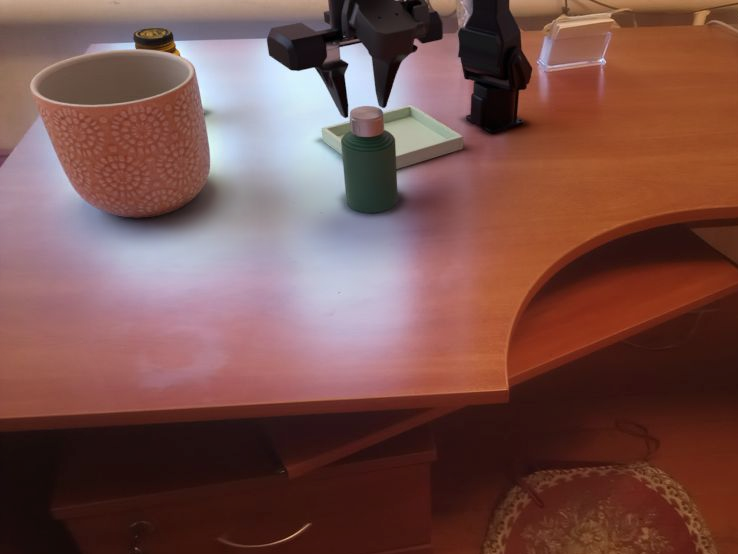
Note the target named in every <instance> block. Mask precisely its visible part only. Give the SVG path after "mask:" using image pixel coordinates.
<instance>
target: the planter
mask: <svg viewBox="0 0 738 554" xmlns="http://www.w3.org/2000/svg"><path fill="white" fill-rule="evenodd" d="M199 85H200V84H199V79H198V76H197V72H196V68H195V66H194V64H193V63H192V62H191V61H189V60H188V59H187V58H185V57H183V56H182V55H180V56H178V55H175V54H172V53H168V52H163V51H156V50H143V49H136V48H133V49H132V48H131V49H128V48H127V49H113V50H104V51H103V50H102V51H97V52H90V53H86V54H82V55H77V56H73V57H70V58H67V59H63V60H61V61H58V62H55V63H54V64H51V65H50V66H47V67H45V68H43V69H42V70H40V71H39V72H38V73H37V74H36V75H35V76H34V77H33V78H32V80H31V81H30V88H29V89H30V92H31V94H32V95H31V96H32V98H33V100H34V103H35V106H36V108H37V111H38V113H39V116H40V118H41V120H42V123H43V125H44V128H45V131H46V133H47V135H48V137H49V140H50V143H51V145H52V147H53V150H54V152H55V154H56V157H57V159H58V162H59V163H60V166H61V168H62V171H63V173H64V174H65V176H66V178H67V180H68V182H69V183H70V184H71V186H72V188H73V190H74V191H75V192H76V193H77V194H78V195H79V197H80V198H81V199H82V200H84V201H85V202H86V203H88V204H89V205H90V206H92V207H94V208H96V209H99V210H100V211H102V212H105V213H107V214H111V215H114V216H119V217H122V218H123V217H124V218H133V219H136V218H137V219H141V218H149V217H150V218H152V217H157V216H161V215H165V214H169V213H171V212H173V211H176V210H178V209H181V208H182V207H183V206H186V205H187V204H189V202H190V201H192V200H193V199H194V198H195V197H196V196H197V195H198V194H199V193H200V192H201V191H202V189H203V188H204V187H205V185H206V183H207V180H208V178H209V175H210V170H211V151H210V143H209V135H208V130H207V124H206V117H205V113H204V112H203V111H204V108H203V102H202V95H201V91H200V86H199Z"/></svg>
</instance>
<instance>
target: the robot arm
mask: <svg viewBox="0 0 738 554" xmlns="http://www.w3.org/2000/svg"><path fill="white" fill-rule="evenodd" d="M471 2H472V10H471V11H472V12H471V14H470V15H469V18H468V19H467V21H466V23H465V25H464V26H463V27H460V28H459V29H458V32H457V37H458V52H457V53H458V54H457V58H459V59H460V63H461V68H462V74H463V78H464V80H467V81H473V89H472V93H471V95H470V113H469V114H467V115H465V119H466V121H469V122H470V123H472V124H473V125H475V126H477V127H479V128H480V129H482V130H484V131H485V132H487V133H489V134H495V133H498V132H501V131H506V130H509V129H511V128H515V127H518V126H523V125H524V122H525V120H524V119H523V118H520V117H518V111H519V109H518V108H519V96H520V91H525V90H526V89H527V86H528V85H529V84H530V83H531V78H532V73H533V66H532V65H531V63H530V62H529V60H528V58H527V57H526V54H525V53H524V51H523V48H522V34H521V33H522V32H521V29H520V27H519V25H518V23H517V21H516V19H515V17H514V16H513V13H512V10H511V8H510V0H471ZM327 3H328V10H327V11H323V19H324V23H326V24H328V25H329V26H330V28H327V29H323V30H314V29H313V28H311V27H309V26H308V25H306V24H304V23H302V22H296V23H291V24H286V25H282V26H275V27H271V28H270V30H269V33H268V35H267V37H266V45H267V51H268V57H271V58H272V59H273V60H274V61H276V62H278V63H279V64H281V65H283V66H284V68H287V69H288V70H289V71H292V72H295V71H296V72H300V71H304V70H309V69H315V71H316V72H317V74H318V75H319V77H320V79H321V80H322V82H323V84H324V85H325V87H326V89H327V91H328V93H329V96H330V97H331V99H332V101H333V103H334V105H335V107H336V108H337V111H338V112H339V114H340V116H341V117H342V118H344V119H347V118H349V100H348V91H347V84H346V76H345V75H346V71H347V70H348V67H349V63H348V62H347V61H345V60H343V59H342V58H341V50H340V48H344V47H348V46H352V45H358V44H362V45H363V46H364V48H365V49H366V51H367V52H368V55H369V56H370V57H371V63H372V72H373V81H374V90H375V95H376V100H377V105H378V107H379V108H382V109H386V108H387V105H388V102H389V99H390V96H391V93H392V89H393V86H394V83H395V79H396V77H397V74H398V71H399V70H400V67H401V64H402V63H403V61H404V60H405V59H406V58H408V56H410V55H411V54H414V53H416V52H417V51H418V48H419V47H418V46H417V45H415V40H417V41H418V42H419V43H421V44H428V43H432V42H437V41H441V40H443V38H444V21H443V19H442V17H441V15H440V13H439V12H438V11H437V10H435V9H433V8H430V6H429V3H428V2H427V1H426V0H327Z"/></svg>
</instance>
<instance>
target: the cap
mask: <svg viewBox="0 0 738 554" xmlns="http://www.w3.org/2000/svg"><path fill="white" fill-rule="evenodd" d="M383 112H384V111H383V110H382V109H381V107H377V106H373V105H361V106H357V107H354V108H352V109H351V110H350V111H349V121H350V128H351V132H352V133H353V134H354V135H356V136H359V137H375V136H378V135H380V134H382V133H383V131H384V116H383Z"/></svg>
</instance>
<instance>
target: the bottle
mask: <svg viewBox="0 0 738 554" xmlns="http://www.w3.org/2000/svg"><path fill="white" fill-rule="evenodd" d="M341 147H342V155H341V157H342V168H343V178H344V189H345V190H344V191H345V199H346V204H347V206H348V208H350V209H352V210H354V211H356V212H359V213H363V214H364V213H365V214H377V213H382V212H387V211H388V210H391V209H392V208H393V207H395V206H396V205H397V203H398V179H397V178H398V176H397V175H398V174H397V169H396V146H395V138H394V136H393V135H392V134H391V133H390V132H388V131H386V130H384V131H383V133H382V134H380V135H378V136H375V137H359V136H356V135H354V134H353V133H352V132H351V131H349V132H348V133H346V134H345V135H344V136H343V137H342V139H341Z"/></svg>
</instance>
